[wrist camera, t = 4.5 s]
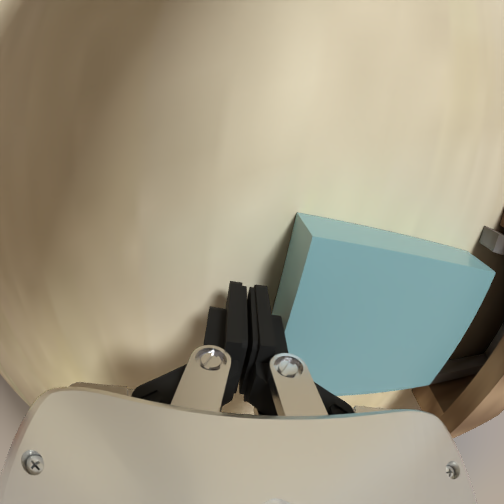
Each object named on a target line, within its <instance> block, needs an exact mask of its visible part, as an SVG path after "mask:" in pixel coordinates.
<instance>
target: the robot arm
mask: <svg viewBox="0 0 504 504" xmlns="http://www.w3.org/2000/svg"><path fill="white" fill-rule="evenodd" d="M238 383H239V393H240V394H244V401H247V402H249V403H250V404H252V405H253V406H254V415H249V414H236V413H225V412H221V410H222V406H224V405H225V404H227V403H228V402H230V401H231V400H232V398H233V394H234V393H236V391H237V387H238ZM0 504H477V500H476V497H475V493H474V490H473V487H472V484H471V481H470V479H469V476H468V473H467V470H466V468H465V465H464V462H463V460H462V457H461V455H460V453H459V451H458V449H457V446H456V445H455V443H454V440H453V438H452V436H451V435H450V433H449V431H448V430H447V428H446V426H445V425H444V423H443V422H442V421H441V420H440V419H439V418H438V417H437V416H435V415H434V414H431V413H428V412H425V411H420V410H411V409H394V410H393V409H383V408H372V407H363V406H355V407H354V408H352V407H351V406H350V405H349V404H347V403H346V402H345V401H343V400H342V399H340V398H338V397H337V396H335V395H334V394H332V393H331V392H329V391H328V390H326V389H324V388H323V387H321V386H320V385H318V384H317V383H315V382H314V381H313V379H312V377H311V374H310V372H309V370H308V368H307V365H306V364H305V362H304V361H303V360H302V359H301V358H299V357H298V356H296V355H293V354H289V353H288V348H287V343H286V337H285V332H284V327H283V322H282V318H281V316H279V315H271V309H270V302H269V295H268V289H267V286H262V285H255V286H254V288H253V287H250V288H249V293H248V297H247V287H246V286H242V283H240V282H233V281H230V285H229V291H228V297H227V303H226V309H223V308H216V307H210V309H209V315H208V321H207V327H206V333H205V339H204V345H203V346H200V347H198V348H196V349H195V350H194V351H193V352H192V354H191V356H190V359H189V361H188V364H186V365H184V366H182V367H180V368H178V369H176V370H173V371H171V372H169V373H167V374H165V375H163V376H160V377H158V378H156V379H154V380H152V381H149V382H147V383H145V384H143V385H140V386H139V387H137V388H136V389H128V388H127V386H114V385H102V384H93V383H84V382H76V383H74V384H71V385H70V386H69V387H59V388H53V389H50V390H47V391H46V392H44V393H43V394H41V395H40V396H39V397H38V398H37V399H36V400H35V402H34V403H33V404H32V406H31V407H30V409H29V410H28V412H27V414H26V415H25V417H24V419H23V421H22V422H21V424H20V427H19V429H18V431H17V433H16V435H15V437H14V439H13V442H12V444H11V447H10V449H9V452H8V455H7V457H6V460H5V464H4V466H3V469H2V472H1V476H0Z"/></svg>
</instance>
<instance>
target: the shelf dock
mask: <svg viewBox="0 0 504 504" xmlns="http://www.w3.org/2000/svg"><path fill="white" fill-rule="evenodd" d="M500 225H501V226H502V227H504V212H503V216H502V219H501V223H500ZM479 243H481V244H482V245H484V246H485V247H487V248H488V249H490V250H491V251H493V252H495V253H498V254H501V255H504V234H502V233H500V232H497V231H495V230H493V229H491V228H489V227H486V226H484V229H483V232H482V235H481V238H480V241H479ZM412 392H413V394H414V396H415V398H416V400H417V402H418V404H419V406H420V408H421V410H422V411H425V412H428V413H431V414H434V415H435V416H437V417H438V418H439V419H440V420H441V421H442V422H443V423H444V425H445V426H446V428H447V430H448V431H449V433H450V435H451V436H452V438H455V437H457V436H459V435H461V434H463V433H466V432H468V431H470V430H472V429H474V428H476V427H477V426H480V425H482V424H483V423H485V422H487V421H489V420H491V419H492V418H494V417H496V416H498V415H499V414H500V413H501V412H502V411H503V410H504V322H503V324H502V326H501V327H500V329H499V331H498V332H497V334H496V336H495V337H494V339H493V341H492V342H491V344H490V345H489V347H488V348H487V350H486V351H485V353H484V354H480V355H475V356H470V357H464V358H458V359H452V360H447V362H446V363H445V365H444V366H443V367H442V369H441V370H440V372H439V373H438V374H437V376H436V377H435V378H434V380H433V381H432V382H431V383H430V385H426V386H421V387H415V388H413V390H412Z"/></svg>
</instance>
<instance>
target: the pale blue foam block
mask: <svg viewBox="0 0 504 504" xmlns="http://www.w3.org/2000/svg"><path fill="white" fill-rule="evenodd" d="M495 274H496V272H495V271H493V270H492V269H491V268H489V267H488V266H487V265H485V264H484V263H483V262H481V261H480V260H479V259H477V258H476V257H475V256H473V255H472V254H470V253H469V252H468V251H465V250H461V249H457V248H454V247H450V246H446V245H443V244H439V243H435V242H431V241H427V240H423V239H419V238H415V237H411V236H407V235H403V234H398V233H394V232H390V231H385V230H381V229H377V228H372V227H367V226H363V225H358V224H353V223H349V222H344V221H339V220H334V219H329V218H324V217H319V216H313V215H308V214H303V213H297V214H296V219H295V223H294V227H293V231H292V236H291V240H290V244H289V248H288V252H287V256H286V260H285V264H284V268H283V272H282V276H281V280H280V284H279V288H278V292H277V296H276V300H275V303H274V307H273V311H272V315H279V316H281V318H282V322H283V327H284V332H285V337H286V343H287V348H288V353H289V354H293V355H296V356H298V357H299V358H301V359H302V360H303V361H304V362H305V364H306V365H307V368H308V370H309V372H310V374H311V377H312V379H313V381H314V382H315V383H317V384H318V385H320V386H321V387H323V388H324V389H326V390H328V391H329V392H331V393H332V394H334V395H335V396H343V395H358V394H369V393H379V392H388V391H395V390H403V389H409V388H415V387H421V386H426V385H430V383H431V382H432V381H433V380H434V378H435V377H436V376H437V374H438V373H439V372H440V370H441V369H442V367H443V366H444V365H445V363H446V362H447V360H448V359H449V357H450V356H451V354H452V353H453V351H454V350H455V348H456V347H457V345H458V344H459V342H460V341H461V339H462V337H463V336H464V334H465V332H466V331H467V329H468V327H469V326H470V324H471V322H472V320H473V318H474V317H475V315H476V313H477V311H478V309H479V307H480V305H481V303H482V301H483V299H484V297H485V295H486V293H487V291H488V289H489V287H490V285H491V283H492V280H493V278H494V276H495Z"/></svg>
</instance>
